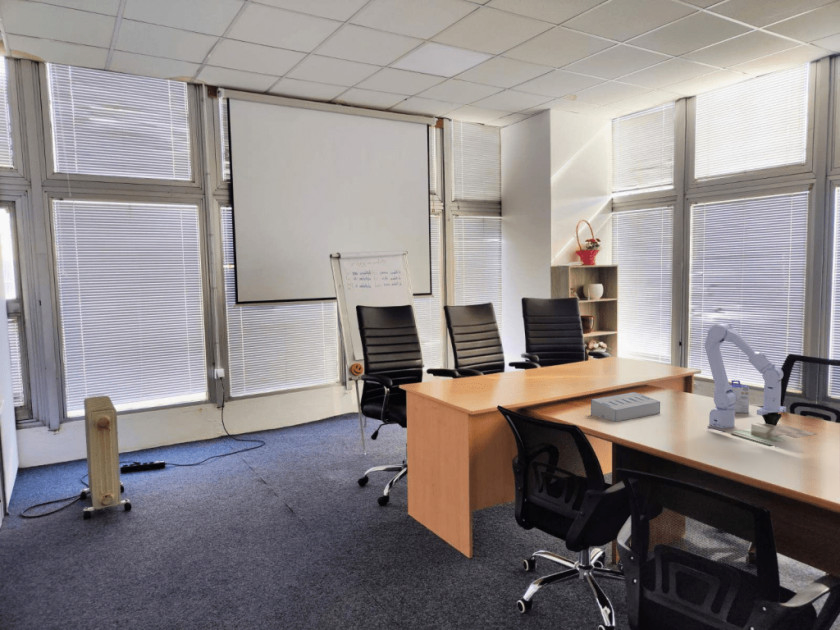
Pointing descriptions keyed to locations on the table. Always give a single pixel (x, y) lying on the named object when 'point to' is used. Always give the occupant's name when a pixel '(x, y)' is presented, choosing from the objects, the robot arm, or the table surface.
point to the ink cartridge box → (741, 397)
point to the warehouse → (624, 406)
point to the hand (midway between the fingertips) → (770, 431)
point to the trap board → (779, 431)
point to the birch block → (763, 429)
